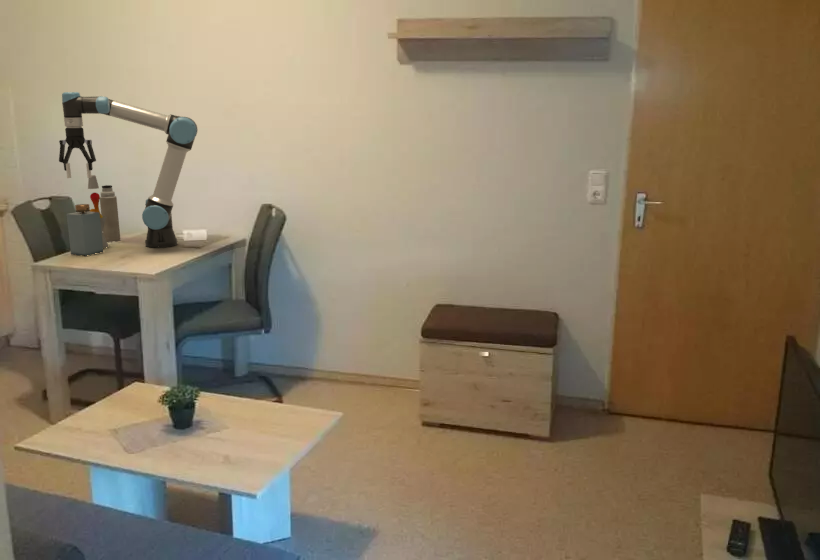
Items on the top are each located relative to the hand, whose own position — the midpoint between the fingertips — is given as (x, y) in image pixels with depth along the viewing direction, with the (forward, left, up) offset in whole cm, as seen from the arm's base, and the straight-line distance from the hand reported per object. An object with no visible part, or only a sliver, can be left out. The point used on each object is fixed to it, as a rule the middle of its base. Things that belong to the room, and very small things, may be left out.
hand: (79, 177), depth 352 cm
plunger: (0, 0, -34) cm, 34 cm away
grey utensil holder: (0, 0, -35) cm, 35 cm away
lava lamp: (+7, -13, -36) cm, 38 cm away
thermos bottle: (+16, -29, -36) cm, 49 cm away
